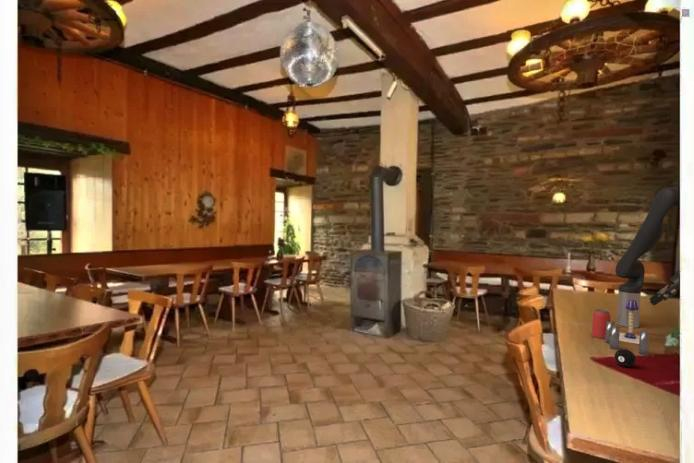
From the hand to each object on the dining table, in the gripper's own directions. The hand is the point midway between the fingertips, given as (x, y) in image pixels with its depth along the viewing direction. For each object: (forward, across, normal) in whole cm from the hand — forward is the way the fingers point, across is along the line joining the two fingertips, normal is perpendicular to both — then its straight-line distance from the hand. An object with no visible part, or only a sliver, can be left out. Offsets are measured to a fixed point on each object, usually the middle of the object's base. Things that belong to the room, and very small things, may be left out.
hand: (651, 302), depth 169 cm
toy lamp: (+17, 0, +7) cm, 18 cm away
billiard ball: (+18, +44, +7) cm, 48 cm away
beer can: (+25, +6, 0) cm, 26 cm away
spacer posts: (+18, +18, +7) cm, 27 cm away
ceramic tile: (+17, 0, +8) cm, 19 cm away
